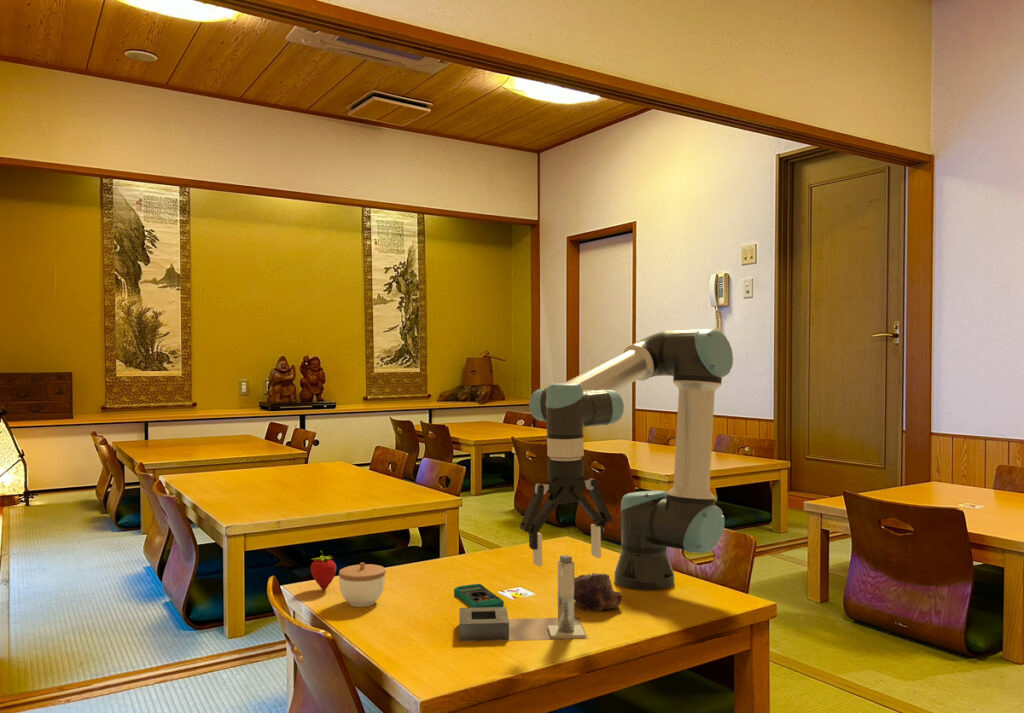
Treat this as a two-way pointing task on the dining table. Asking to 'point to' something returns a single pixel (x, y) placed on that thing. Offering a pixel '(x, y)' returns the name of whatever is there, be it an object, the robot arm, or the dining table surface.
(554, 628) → the pad
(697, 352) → the robot arm
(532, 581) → the dining table surface
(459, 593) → the digital multimeter
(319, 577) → the strawberry
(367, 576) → the lidded jar
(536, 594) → the dining table surface
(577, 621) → the board
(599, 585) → the rock
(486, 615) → the block
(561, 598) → the silver metal post
